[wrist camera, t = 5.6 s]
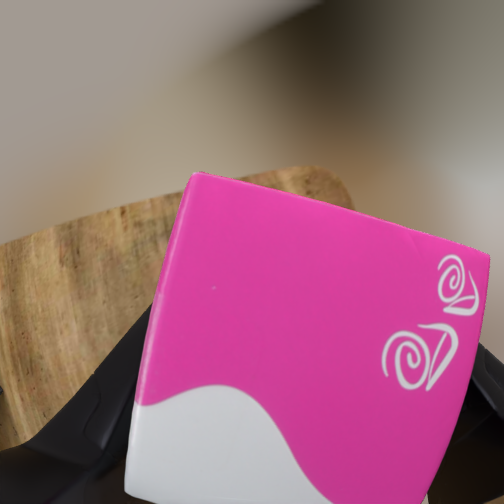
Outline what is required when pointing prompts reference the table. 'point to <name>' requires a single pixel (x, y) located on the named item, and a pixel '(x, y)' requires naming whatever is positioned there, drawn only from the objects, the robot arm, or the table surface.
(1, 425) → the table surface
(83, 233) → the table surface
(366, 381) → the supplement box
